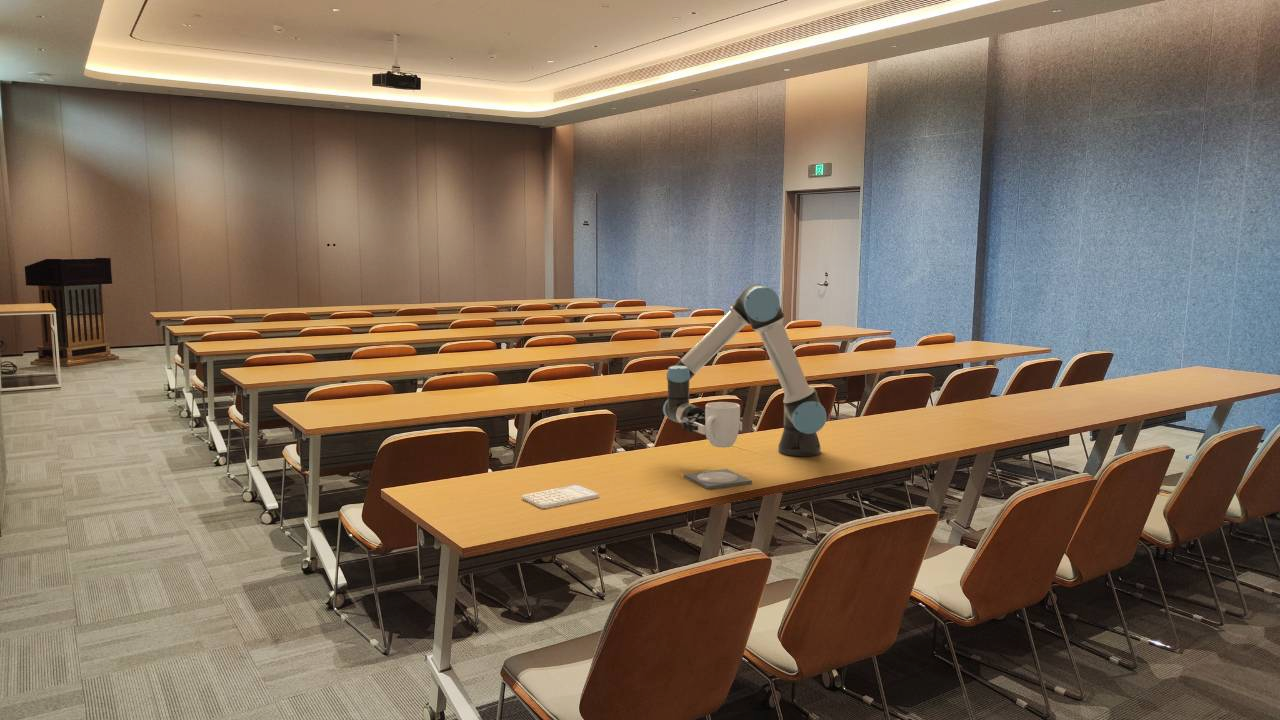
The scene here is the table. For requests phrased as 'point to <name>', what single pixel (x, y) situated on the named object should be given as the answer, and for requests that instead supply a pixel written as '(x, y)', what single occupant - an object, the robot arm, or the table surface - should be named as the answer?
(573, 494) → the calculator
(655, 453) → the table surface
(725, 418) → the mug
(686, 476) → the kitchen scale
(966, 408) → the table surface
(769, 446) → the table surface
